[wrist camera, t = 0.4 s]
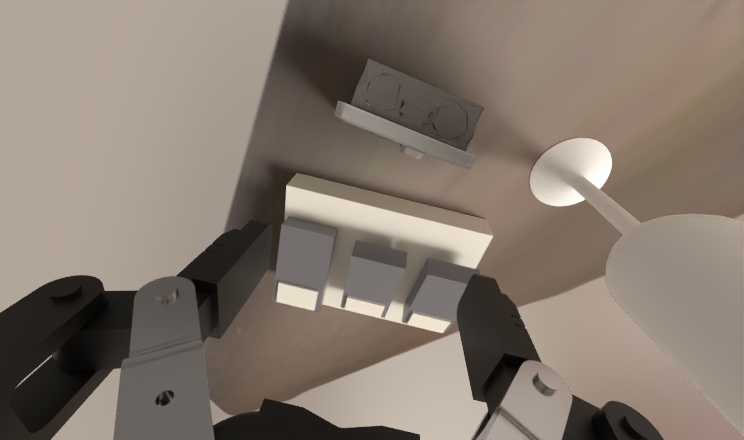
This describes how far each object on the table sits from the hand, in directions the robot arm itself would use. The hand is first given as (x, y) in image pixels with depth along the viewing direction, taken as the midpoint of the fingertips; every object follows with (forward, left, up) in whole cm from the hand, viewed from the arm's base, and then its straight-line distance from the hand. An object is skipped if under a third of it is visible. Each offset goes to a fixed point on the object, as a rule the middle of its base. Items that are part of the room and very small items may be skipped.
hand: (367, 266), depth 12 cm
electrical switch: (-3, 0, -18) cm, 18 cm away
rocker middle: (+13, +1, -13) cm, 19 cm away
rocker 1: (+13, -6, -13) cm, 19 cm away
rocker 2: (+13, +8, -13) cm, 20 cm away
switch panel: (+13, +1, -18) cm, 22 cm away
